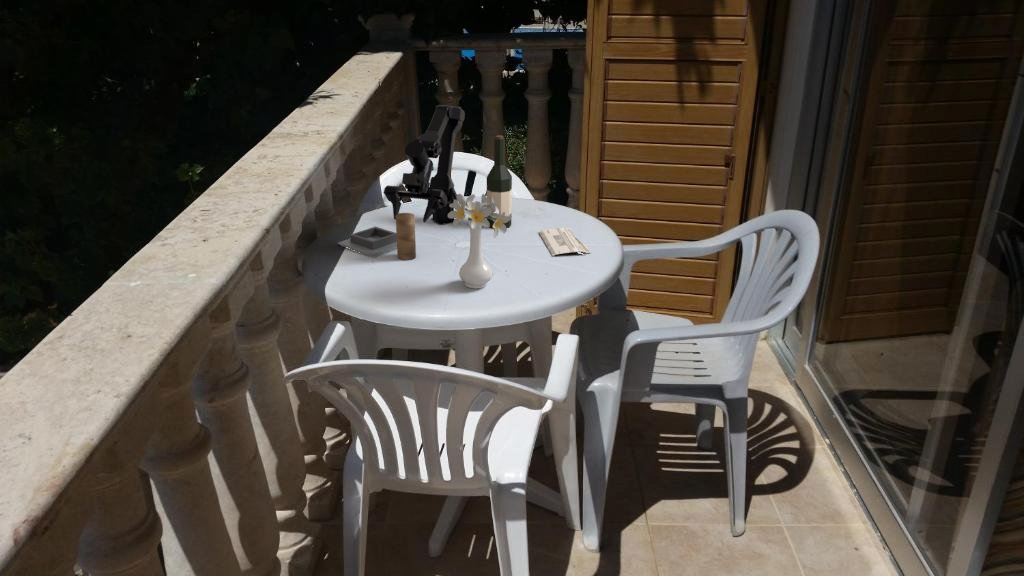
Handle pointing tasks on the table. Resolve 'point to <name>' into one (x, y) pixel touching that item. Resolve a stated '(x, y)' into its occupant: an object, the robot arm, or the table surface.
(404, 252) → the peg
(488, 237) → the table surface
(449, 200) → the robot arm
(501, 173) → the wine bottle
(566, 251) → the newspaper
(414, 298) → the table surface
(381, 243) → the collar
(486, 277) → the flower vase
